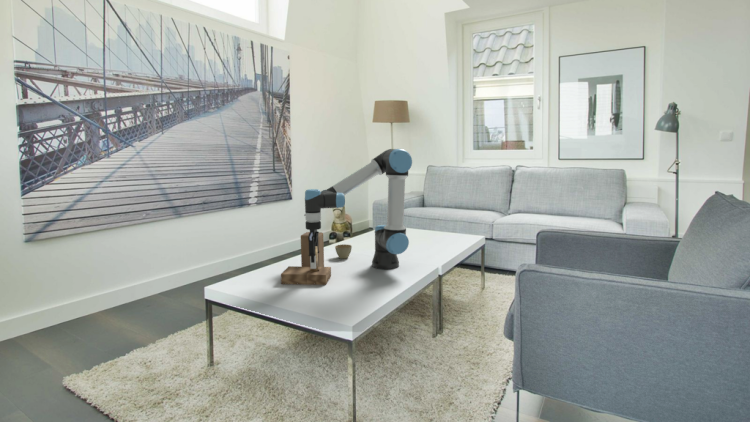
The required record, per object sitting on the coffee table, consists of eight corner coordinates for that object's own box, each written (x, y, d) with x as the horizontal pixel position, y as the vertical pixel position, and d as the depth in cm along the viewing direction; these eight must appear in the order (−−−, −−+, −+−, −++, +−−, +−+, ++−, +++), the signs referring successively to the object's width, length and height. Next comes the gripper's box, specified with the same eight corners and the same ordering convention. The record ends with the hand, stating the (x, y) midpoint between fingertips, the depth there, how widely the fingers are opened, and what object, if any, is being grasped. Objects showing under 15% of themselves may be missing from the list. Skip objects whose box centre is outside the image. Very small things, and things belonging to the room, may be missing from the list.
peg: (318, 273, 217) (318, 246, 215) (317, 275, 213) (316, 247, 211) (311, 273, 217) (310, 245, 215) (309, 275, 214) (309, 247, 211)
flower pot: (335, 256, 264) (335, 244, 263) (351, 255, 265) (351, 244, 264) (335, 260, 254) (335, 248, 253) (352, 259, 255) (352, 247, 254)
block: (318, 272, 229) (317, 235, 226) (301, 271, 231) (299, 235, 228) (324, 267, 239) (323, 232, 236) (307, 266, 241) (306, 231, 238)
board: (331, 276, 222) (330, 266, 221) (326, 284, 208) (325, 274, 208) (289, 275, 224) (288, 266, 223) (281, 284, 210) (280, 274, 209)
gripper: (309, 218, 220) (310, 262, 223) (301, 223, 203) (302, 271, 207) (324, 218, 219) (324, 263, 223) (317, 223, 203) (318, 272, 206)
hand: (314, 267), depth 215 cm, fingers closed on peg, 4 cm apart
